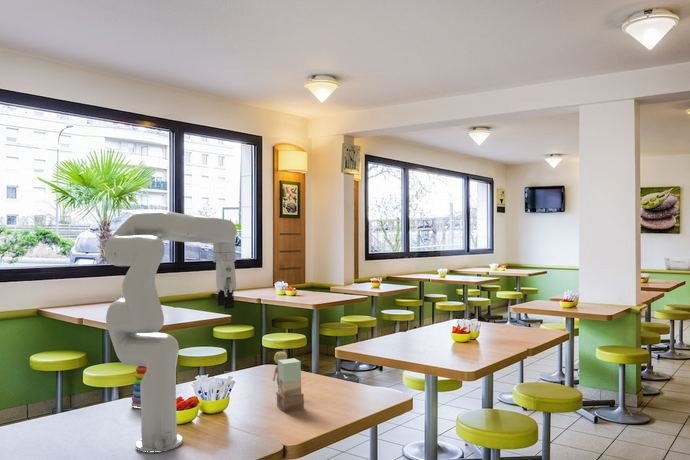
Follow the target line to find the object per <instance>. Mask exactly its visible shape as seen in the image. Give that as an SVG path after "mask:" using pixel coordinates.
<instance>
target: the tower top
mask: <svg viewBox="0 0 690 460" xmlns="http://www.w3.org/2000/svg"><path fill="white" fill-rule="evenodd" d="M278 390H279V391H278V392H280V393H281V394H282V395H283V396H284V397H286V396H293V395H300V394H301V393H302V379H301V380H294V381H286V382H284V381H282V380H281V379H279V389H278Z"/></svg>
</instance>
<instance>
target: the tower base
mask: <svg viewBox="0 0 690 460" xmlns="http://www.w3.org/2000/svg"><path fill="white" fill-rule="evenodd" d="M304 400H305V399H304V393H302V392H301V394H300V395H293V396H286V397H284V396H283V395H282V394H281V393H280V392H279V391H277V392H276V408H278V409H280V410H281V412H283V413H289V412H294V411H301V410H304V409H305V405H304V403H305V402H304Z"/></svg>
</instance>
